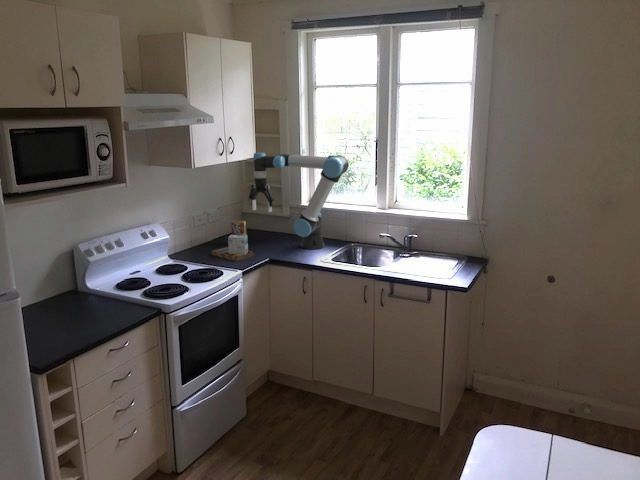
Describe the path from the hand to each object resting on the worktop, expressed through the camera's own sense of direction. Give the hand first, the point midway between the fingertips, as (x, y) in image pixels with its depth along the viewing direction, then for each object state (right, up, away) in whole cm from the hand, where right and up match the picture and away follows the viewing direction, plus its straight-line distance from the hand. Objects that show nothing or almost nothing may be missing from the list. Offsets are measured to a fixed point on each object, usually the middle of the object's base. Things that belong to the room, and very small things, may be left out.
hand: (262, 210), depth 353 cm
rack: (-17, -28, -12) cm, 35 cm away
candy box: (-17, -21, +17) cm, 32 cm away
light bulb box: (-13, -27, -16) cm, 33 cm away
